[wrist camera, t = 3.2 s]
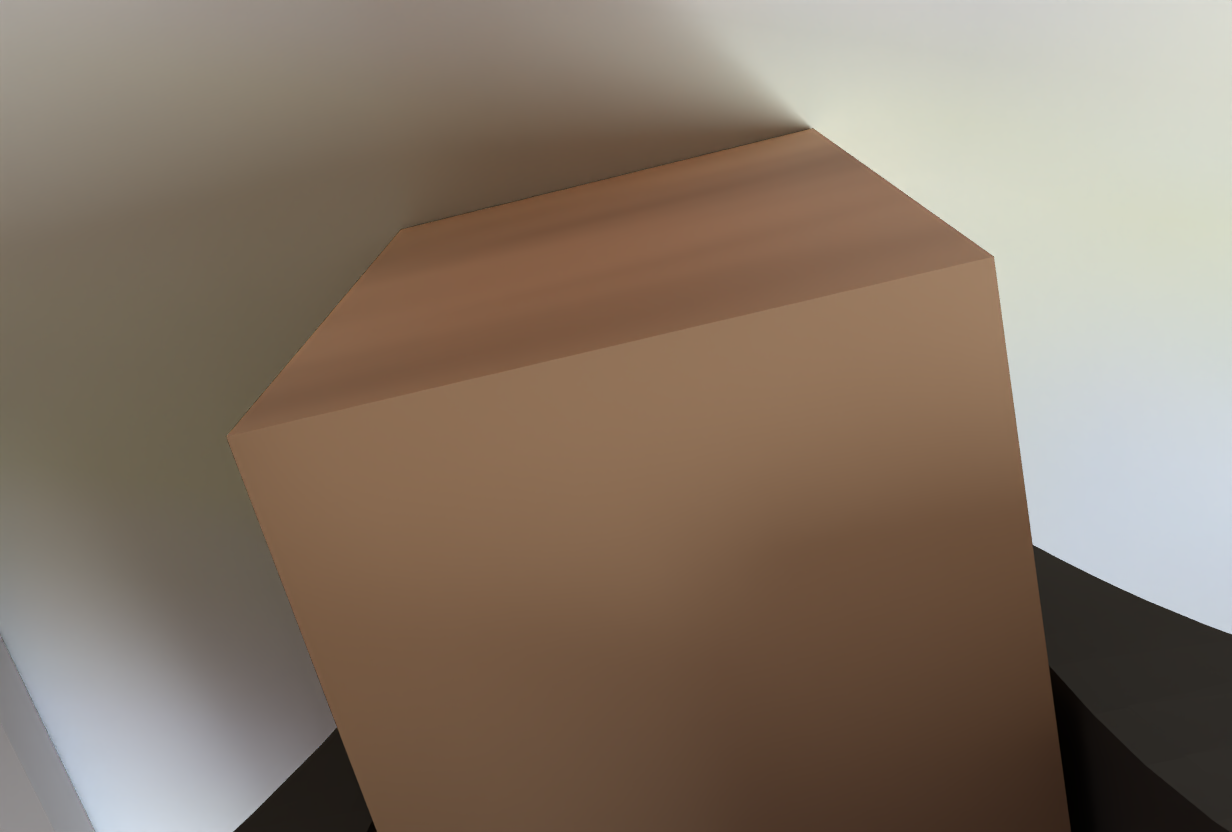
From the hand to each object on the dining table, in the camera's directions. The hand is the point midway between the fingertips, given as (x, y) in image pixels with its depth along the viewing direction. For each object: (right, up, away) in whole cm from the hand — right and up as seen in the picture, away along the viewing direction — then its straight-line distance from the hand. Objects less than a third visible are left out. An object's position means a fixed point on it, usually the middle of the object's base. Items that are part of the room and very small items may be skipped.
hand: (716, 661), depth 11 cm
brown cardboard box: (0, 0, +1) cm, 1 cm away
